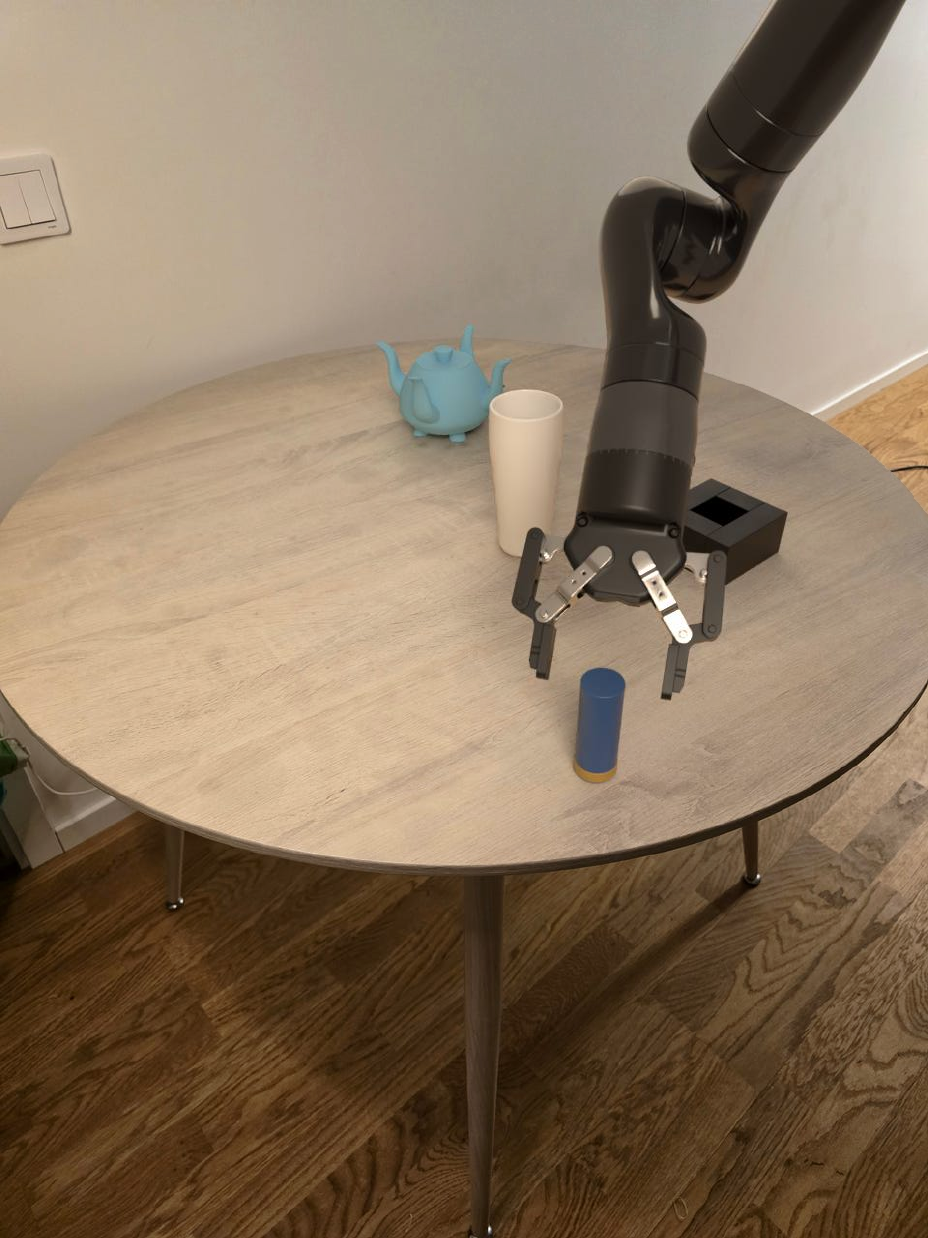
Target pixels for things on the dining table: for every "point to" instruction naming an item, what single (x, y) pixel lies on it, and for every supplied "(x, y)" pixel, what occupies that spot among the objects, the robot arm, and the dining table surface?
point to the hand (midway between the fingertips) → (603, 689)
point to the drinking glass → (524, 463)
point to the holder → (732, 526)
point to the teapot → (444, 389)
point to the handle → (599, 724)
